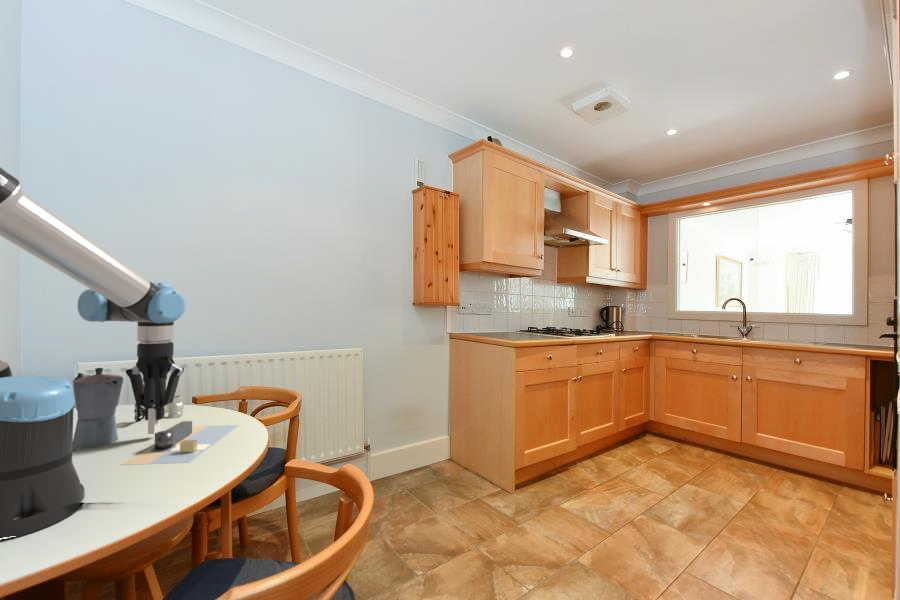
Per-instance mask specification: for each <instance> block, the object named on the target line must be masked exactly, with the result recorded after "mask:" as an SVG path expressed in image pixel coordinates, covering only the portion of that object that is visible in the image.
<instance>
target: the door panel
mask: <svg viewBox="0 0 900 600" xmlns="http://www.w3.org/2000/svg"><path fill="white" fill-rule="evenodd" d="M239 426H240V424H230V425H229V424H226V425H222V424H221V425H219V424H218V425H217V424H216V425H192V433H191V434H190V435H188V436H186V437H185V438H183V439H182V440H180V441H178V442H177V443H175V444H174V445H173V447H171V448H168V449H165V450H155V449H154V445H153V446H151V447H150V448H147V449H146V450H144V451H142V452H141V453H139V454H137V455H136V456H134V457H131V458H130V459H128V460H126V461H125V462H123V463H122V464H120V466H127V465H128V466H129V465H132V466H133V465H136V466H137V465H159V464H160V465H161V464H163V465H164V464H186V463H187V464H188V463H191V462H192V461H194V460H195V459H196V458H198V457H199V456H201V455H202V454H203V453H204V452H206V451H208V449H210V448H211V447H212V446H214V445H215V444H216V443H218V442H220V440H222V439H223V438H224V437H226V436H227V435H228V434H230V433H231V432H233V430H235V429H237V428H238V427H239ZM184 440H197V451H196V452H194V453H180V443H181V442H182V441H184Z"/></svg>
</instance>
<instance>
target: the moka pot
mask: <svg viewBox="0 0 900 600" xmlns="http://www.w3.org/2000/svg"><path fill="white" fill-rule="evenodd" d="M94 370H95V371H94V372H95V374H83V373H81V372H78V374H77V375H76V376H75V378H74V380H73V381H72V386H73V393H74V398H75V404H74V405H75V409H76V411H77V416H76V417H77V419H76V420H77V421H76V425H75V430H74V433H73V444H72V452H74V451H76V450H77V451H78V450H79V449H80V450H82V449H90V448H98V447H101V446H106V445H110V444H112V443H114V442H116V441H117V440H118V439H119V438H118V437H119V436H118V429H117V419H116V413H117V407H118V406H119V402H120V397H121V392H122V387H123V383H124V377H123V376H122V375H120V374H109V373H107V374H104V373H103V372H104V368H103V367H97V368H95V369H94Z"/></svg>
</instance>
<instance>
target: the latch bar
mask: <svg viewBox="0 0 900 600" xmlns="http://www.w3.org/2000/svg"><path fill="white" fill-rule="evenodd" d="M192 426H193V421H190V420H188V421H187V420H186V421H184V420H183V421H180V422H179V423H176V424H174V425H172V426H170V427H169V428H168V429H166V430H160V431H159V432H157V433H155V434H154V445H153V446H154V449H155V450H165V449H168V448H171V447H173V445H174V444H175V443H177V442H178V441H180V440H182V439H183V438H185V437H186V436H188V435H190V434H191V433H192Z"/></svg>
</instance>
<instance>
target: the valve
mask: <svg viewBox="0 0 900 600" xmlns="http://www.w3.org/2000/svg"><path fill="white" fill-rule="evenodd" d="M183 401H184V396H183V395H174V399H173V402H172V403H170V404H168V405H165V407H164V415H165V414H167V413H168V414H167V415H168V416H167V419H170V420H171V419H181V418H182V417H183V416H184V413H183V412H184V411H183V409H184V405H185V404H184V403H183ZM134 408H135V409H133V413H134V417H133V418H134V423H135V424H136V423H139V422H141V421H142V420H143V419H145V408H144V407H143V406H137V405H136V403H134ZM180 417H181V418H180Z"/></svg>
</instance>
